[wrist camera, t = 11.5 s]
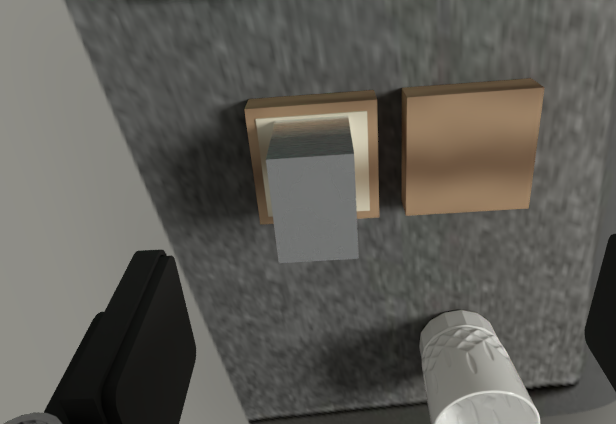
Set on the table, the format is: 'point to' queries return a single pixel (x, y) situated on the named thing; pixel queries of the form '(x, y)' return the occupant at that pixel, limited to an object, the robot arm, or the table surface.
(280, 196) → the block
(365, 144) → the stand
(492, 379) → the white cup
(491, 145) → the stand
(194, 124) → the table surface
